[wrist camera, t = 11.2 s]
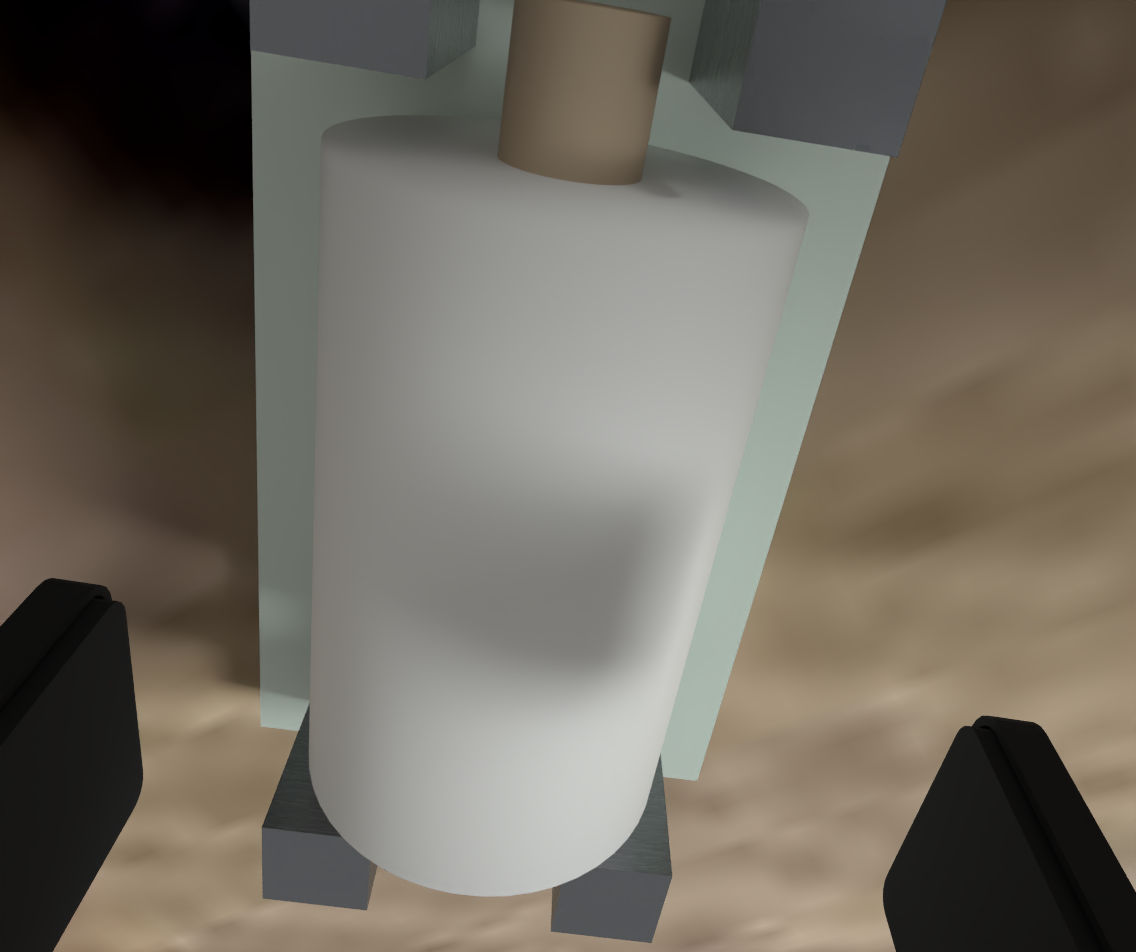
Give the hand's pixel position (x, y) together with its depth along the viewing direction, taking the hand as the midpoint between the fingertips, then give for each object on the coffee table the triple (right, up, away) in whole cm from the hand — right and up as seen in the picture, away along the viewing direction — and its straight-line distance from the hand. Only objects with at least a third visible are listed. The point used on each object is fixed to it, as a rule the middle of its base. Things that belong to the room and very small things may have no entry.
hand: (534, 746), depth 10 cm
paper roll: (0, +4, +8) cm, 9 cm away
